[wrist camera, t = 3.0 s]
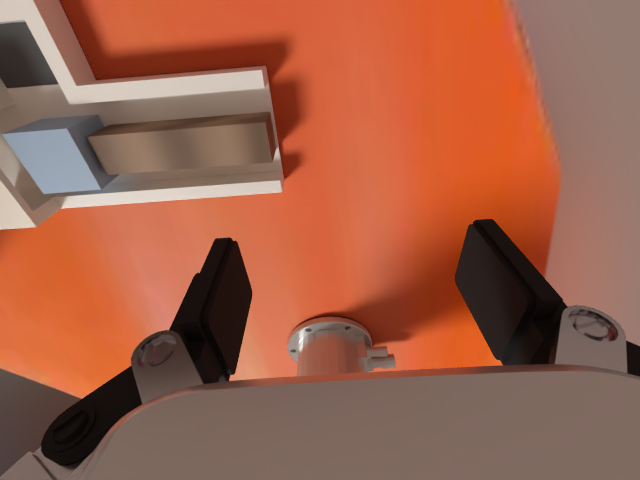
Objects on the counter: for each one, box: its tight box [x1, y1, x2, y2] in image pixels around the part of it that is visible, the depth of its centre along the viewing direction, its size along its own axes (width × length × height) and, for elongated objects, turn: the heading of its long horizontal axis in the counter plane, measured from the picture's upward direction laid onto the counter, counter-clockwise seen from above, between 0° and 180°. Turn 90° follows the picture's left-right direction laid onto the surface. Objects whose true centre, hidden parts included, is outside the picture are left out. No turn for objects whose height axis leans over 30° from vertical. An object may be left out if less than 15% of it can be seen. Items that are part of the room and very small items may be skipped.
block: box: [2, 114, 120, 194], centre depth 25 cm, size 5×5×4 cm
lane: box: [0, 0, 284, 230], centre depth 23 cm, size 33×15×6 cm, turn 94°
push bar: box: [87, 112, 276, 175], centre depth 25 cm, size 14×3×3 cm, turn 94°
